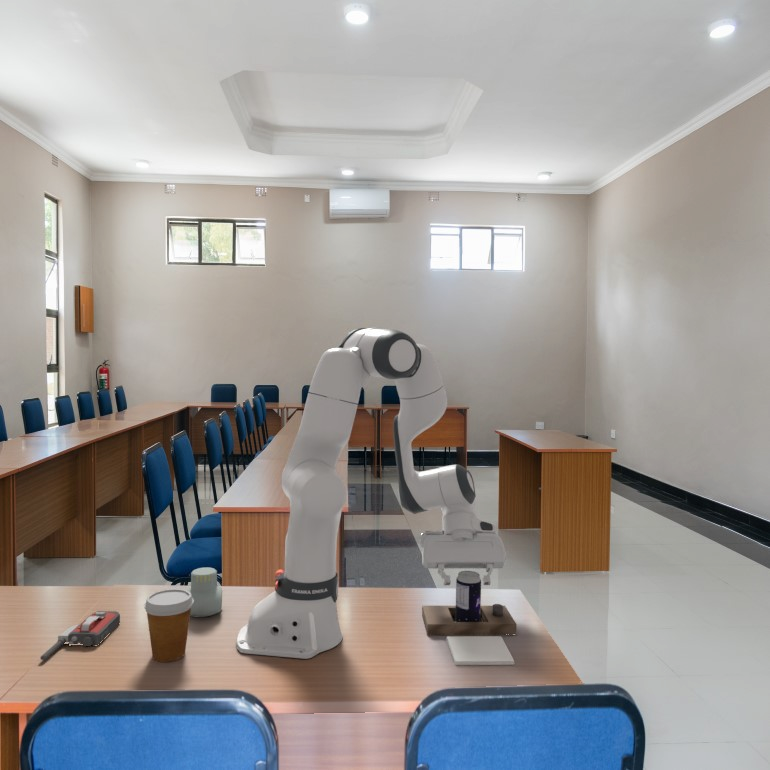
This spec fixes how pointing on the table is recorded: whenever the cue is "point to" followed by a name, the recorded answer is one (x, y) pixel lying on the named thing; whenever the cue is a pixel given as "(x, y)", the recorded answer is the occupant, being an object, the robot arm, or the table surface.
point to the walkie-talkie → (88, 631)
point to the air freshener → (205, 592)
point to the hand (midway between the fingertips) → (467, 584)
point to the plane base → (492, 617)
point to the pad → (479, 650)
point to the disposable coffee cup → (168, 623)
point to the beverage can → (468, 597)
